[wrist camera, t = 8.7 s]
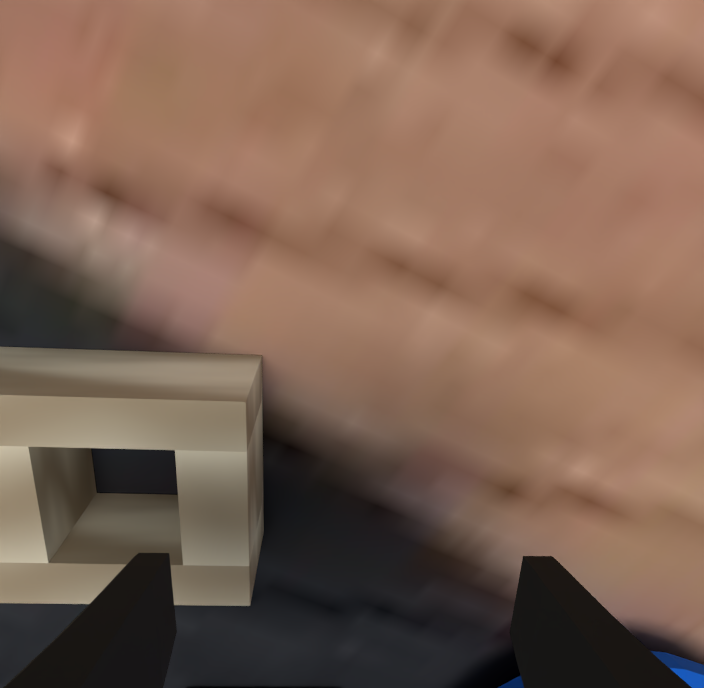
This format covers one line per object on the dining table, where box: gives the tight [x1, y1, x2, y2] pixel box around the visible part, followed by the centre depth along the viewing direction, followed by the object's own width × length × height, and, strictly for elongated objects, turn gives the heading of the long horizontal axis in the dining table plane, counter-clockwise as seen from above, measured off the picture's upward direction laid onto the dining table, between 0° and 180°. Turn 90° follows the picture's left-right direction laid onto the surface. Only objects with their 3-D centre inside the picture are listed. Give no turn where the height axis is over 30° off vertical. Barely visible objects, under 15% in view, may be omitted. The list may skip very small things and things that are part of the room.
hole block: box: [0, 347, 264, 606], centre depth 19 cm, size 8×18×4 cm, turn 87°
